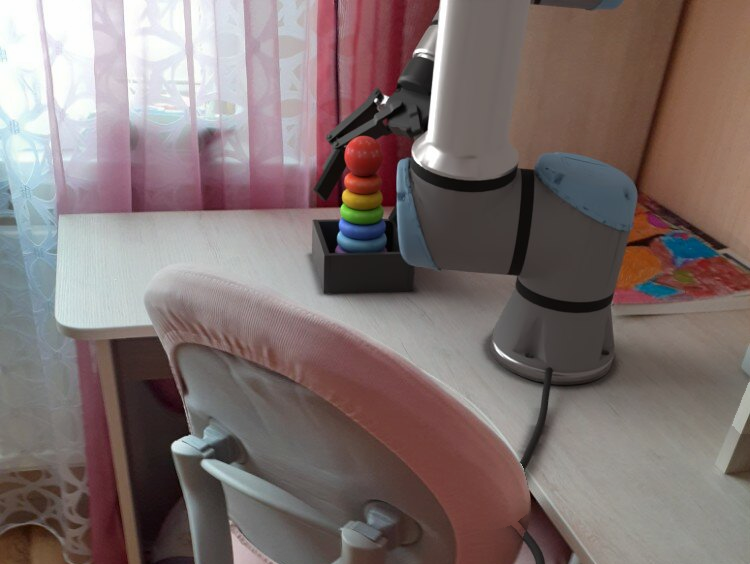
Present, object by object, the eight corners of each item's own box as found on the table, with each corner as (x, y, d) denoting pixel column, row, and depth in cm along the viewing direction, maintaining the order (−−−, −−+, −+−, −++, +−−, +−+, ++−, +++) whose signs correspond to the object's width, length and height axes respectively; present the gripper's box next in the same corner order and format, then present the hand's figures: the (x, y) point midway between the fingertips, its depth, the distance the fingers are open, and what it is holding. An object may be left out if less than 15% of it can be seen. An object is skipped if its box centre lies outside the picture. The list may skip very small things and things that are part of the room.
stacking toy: (390, 264, 125) (399, 131, 113) (385, 287, 119) (395, 149, 107) (337, 259, 125) (341, 126, 113) (329, 282, 119) (333, 144, 107)
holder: (412, 291, 118) (416, 253, 115) (323, 293, 116) (324, 255, 113) (394, 254, 128) (397, 218, 124) (311, 255, 126) (312, 219, 122)
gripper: (518, 111, 112) (438, 251, 112) (376, 72, 124) (303, 198, 124) (502, 73, 105) (417, 222, 106) (353, 36, 117) (277, 169, 117)
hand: (355, 209), depth 115 cm, fingers open, 13 cm apart
